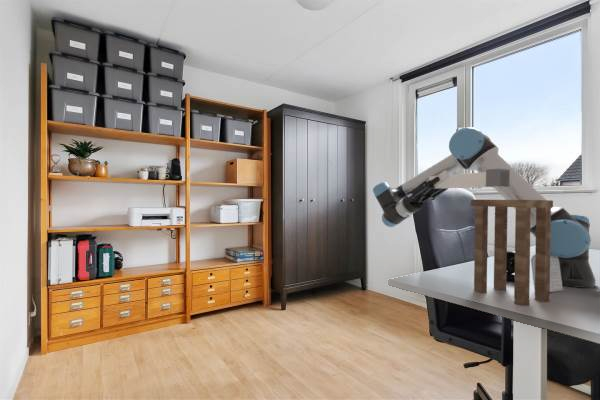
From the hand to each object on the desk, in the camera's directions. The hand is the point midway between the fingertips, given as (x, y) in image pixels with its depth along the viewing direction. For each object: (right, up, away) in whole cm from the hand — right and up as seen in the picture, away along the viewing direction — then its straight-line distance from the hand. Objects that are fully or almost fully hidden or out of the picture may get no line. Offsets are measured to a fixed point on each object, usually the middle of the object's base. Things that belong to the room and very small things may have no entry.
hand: (451, 173), depth 110 cm
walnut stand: (+7, -37, -19) cm, 42 cm away
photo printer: (+24, -38, -13) cm, 47 cm away
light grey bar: (+2, -5, -5) cm, 7 cm away
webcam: (+20, -38, 0) cm, 43 cm away
